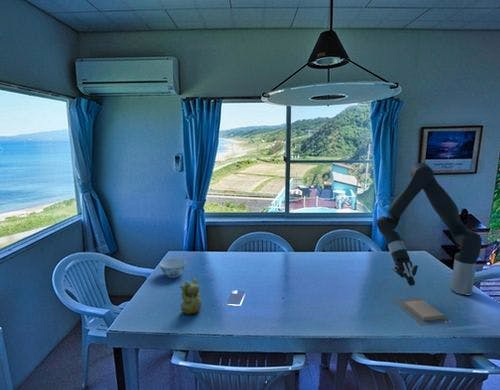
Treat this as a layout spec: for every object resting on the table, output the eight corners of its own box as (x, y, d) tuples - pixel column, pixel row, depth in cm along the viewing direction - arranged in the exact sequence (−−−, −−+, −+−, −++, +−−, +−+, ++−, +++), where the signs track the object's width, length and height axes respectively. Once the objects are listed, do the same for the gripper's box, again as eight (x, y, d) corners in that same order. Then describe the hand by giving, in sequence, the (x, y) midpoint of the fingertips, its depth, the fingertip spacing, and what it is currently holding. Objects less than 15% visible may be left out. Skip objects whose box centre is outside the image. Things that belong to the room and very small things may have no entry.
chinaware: (189, 270, 187) (189, 258, 185) (182, 281, 172) (181, 268, 171) (165, 269, 188) (165, 257, 187) (156, 280, 174) (155, 267, 172)
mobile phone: (224, 304, 147) (232, 289, 162) (224, 305, 147) (232, 291, 162) (240, 305, 146) (246, 290, 161) (240, 307, 146) (246, 292, 161)
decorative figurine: (194, 304, 148) (193, 274, 145) (206, 310, 143) (205, 279, 140) (178, 312, 141) (177, 282, 138) (190, 319, 135) (189, 287, 133)
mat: (389, 301, 152) (389, 299, 152) (419, 298, 155) (419, 297, 154) (421, 327, 131) (421, 325, 130) (454, 323, 133) (454, 322, 133)
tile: (404, 301, 146) (423, 316, 133) (423, 300, 148) (444, 315, 135) (403, 305, 146) (423, 321, 134) (422, 304, 148) (443, 319, 135)
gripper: (390, 249, 153) (404, 283, 143) (414, 247, 155) (429, 281, 145) (383, 255, 159) (396, 288, 149) (406, 254, 161) (420, 286, 151)
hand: (412, 285), depth 147 cm, fingers closed
